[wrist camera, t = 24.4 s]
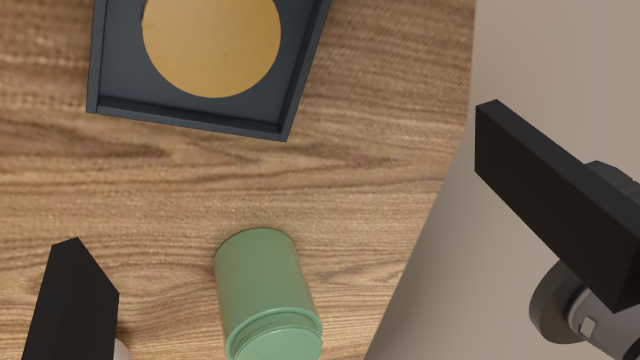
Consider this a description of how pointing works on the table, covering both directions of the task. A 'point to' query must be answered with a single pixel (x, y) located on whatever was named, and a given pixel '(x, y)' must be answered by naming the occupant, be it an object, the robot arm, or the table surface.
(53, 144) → the table surface
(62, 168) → the table surface
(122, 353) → the seamed sphere
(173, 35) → the lid
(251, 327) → the jar
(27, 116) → the table surface
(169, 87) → the dish
